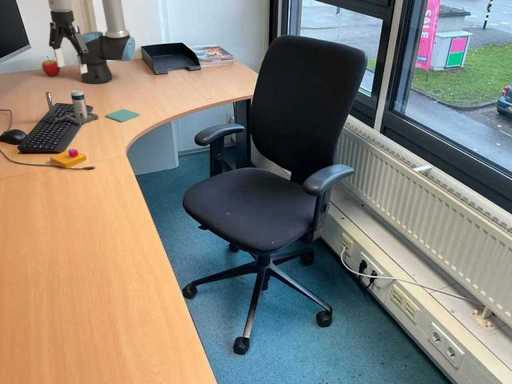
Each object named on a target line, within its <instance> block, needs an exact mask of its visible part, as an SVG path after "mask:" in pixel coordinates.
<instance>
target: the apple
mask: <svg viewBox="0 0 512 384" xmlns="http://www.w3.org/2000/svg"><path fill="white" fill-rule="evenodd" d="M46 57H47V59H48V60H44V61H42V62H41V68H42V70H43V72H44V74H46V75H47V76H49V77H55V76H58V75H59V73H60V71H61V67H58V66H57V61H56V60H53V59H51V60H50V59H49V57H48V55H46Z"/></svg>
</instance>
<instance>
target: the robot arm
mask: <svg viewBox="0 0 512 384" xmlns="http://www.w3.org/2000/svg"><path fill="white" fill-rule="evenodd" d="M47 2H48V7H49V10H50V18H51V22H49V27H50V29H49V39H48V47H50V48H51V49H53V52H54V57H55V61H56V62H57V66H58V67H60V68H62V67H65V66H66V64H65V60H64V54H63V50H62V42H63V40H64V38H65V39H67V40H68V41H69V42H70V44H71V45H72V47H73V49H74V50H75V51H76V53H77V55H76V56H77V64H78V70H79V74H81V76H80V77H81V81H82V82H83V83H84V84H90V85H99V84H100V85H101V84H106V83H109V82H108V81H110V80H111V81H113V79H112V78H113V73H112V72H111V70H110V68H109V65H108V63H107V62H108V61H115V62H131V61H132V60H133V58H134V57H135V52H136V41H135V38H134V37H133V36H130V35H131V34H130V31H128V29H126V22H125V17H124V9H123V4H122V0H101V3H102V8H103V14H104V19H105V20H104V21H105V25H106V31H105V33H104V32H103V31H89V32H85V33H81V30H80V27H79V26H78V25H75V26H73V22H74V21H75V16H74V11H73V10H72V9H73V3H72V0H47ZM111 81H110V82H111Z"/></svg>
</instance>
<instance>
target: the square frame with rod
mask: <svg viewBox="0 0 512 384" xmlns="http://www.w3.org/2000/svg"><path fill="white" fill-rule="evenodd" d="M45 96H46V101H47V105H48V109H49V114H50V115H49V116H50V119H55V120H57V121H58V120H62V121H64V120H63V119H65V120H66V119H69V121H70V122H73V123H76V124H78V126H83V123H84V124H85V123H87V122H89V121H91V120H92V121H93V120H96V121H97V120H99V115H98V114H96V113H93V112H90V111H88V110H87V114H88V117H87V118H85V119H82V120H78V119H76V118H75V117H73V116H75V113H74V112H73V113H71V114H68V115H64V116H62V117H57V116H56V113H55V109H54V105H53V100H52V96H51V92H50V91H46V92H45ZM58 118H59V119H58Z"/></svg>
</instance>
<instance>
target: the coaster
mask: <svg viewBox="0 0 512 384" xmlns="http://www.w3.org/2000/svg"><path fill="white" fill-rule="evenodd" d="M139 116H140V117H141V114H140V113H138V112H134V111H132V110H129V109H127V108H126V109H125V108H122V109H119V110H115V111H113V112H111V113H107V114H105V115H104V117H105V118H108V119H111V120H113V121H117V122H120V123H124V122H127V121H129V120H132V119H134V118H137V117H139Z"/></svg>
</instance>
